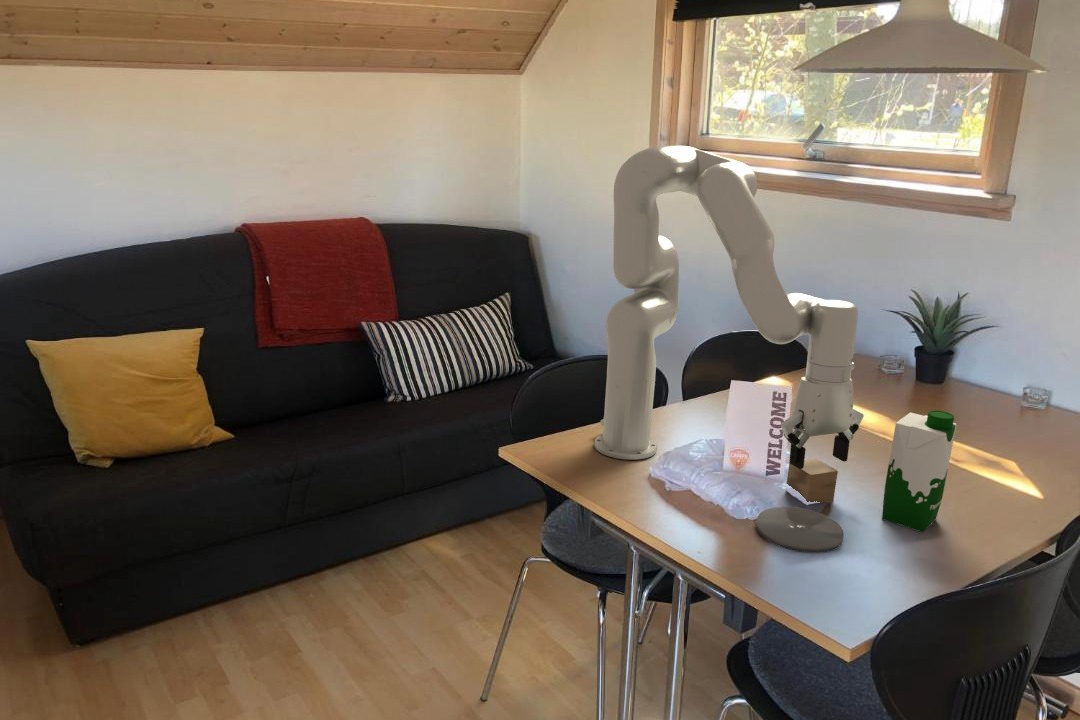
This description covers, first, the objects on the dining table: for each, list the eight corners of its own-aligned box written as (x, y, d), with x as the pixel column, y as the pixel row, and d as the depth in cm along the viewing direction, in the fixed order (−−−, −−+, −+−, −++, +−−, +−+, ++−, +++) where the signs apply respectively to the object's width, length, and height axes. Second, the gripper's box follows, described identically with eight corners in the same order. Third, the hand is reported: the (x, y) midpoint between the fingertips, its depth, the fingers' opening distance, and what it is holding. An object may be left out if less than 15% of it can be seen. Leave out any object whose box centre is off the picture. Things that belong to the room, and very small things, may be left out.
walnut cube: (785, 492, 165) (789, 461, 163) (811, 487, 167) (815, 458, 165) (806, 505, 159) (810, 474, 158) (833, 501, 162) (837, 470, 160)
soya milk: (927, 536, 150) (948, 424, 144) (873, 518, 155) (891, 410, 150) (942, 519, 157) (963, 411, 151) (890, 503, 162) (909, 398, 156)
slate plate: (739, 519, 153) (740, 513, 152) (805, 508, 158) (806, 502, 158) (791, 558, 141) (792, 551, 140) (861, 545, 146) (862, 538, 146)
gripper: (852, 361, 163) (842, 449, 167) (774, 370, 156) (765, 461, 161) (882, 372, 156) (870, 463, 161) (802, 382, 150) (792, 476, 154)
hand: (818, 462), depth 161 cm, fingers open, 9 cm apart
